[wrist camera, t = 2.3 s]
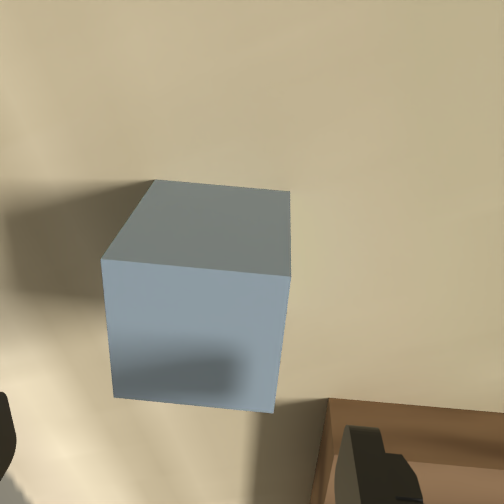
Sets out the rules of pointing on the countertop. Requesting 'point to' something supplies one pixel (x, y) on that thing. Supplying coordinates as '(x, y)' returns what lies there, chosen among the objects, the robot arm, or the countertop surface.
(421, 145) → the countertop surface
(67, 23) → the countertop surface
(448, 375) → the countertop surface
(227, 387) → the blue block
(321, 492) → the walnut base
